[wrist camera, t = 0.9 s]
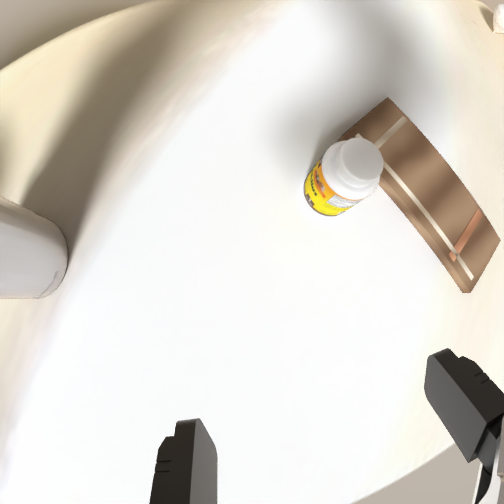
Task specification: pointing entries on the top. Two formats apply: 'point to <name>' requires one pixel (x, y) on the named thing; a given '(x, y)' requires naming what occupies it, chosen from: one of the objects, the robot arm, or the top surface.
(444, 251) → the walnut board
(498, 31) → the spinning top
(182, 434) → the robot arm
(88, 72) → the top surface
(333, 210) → the supplement bottle
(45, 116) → the top surface
